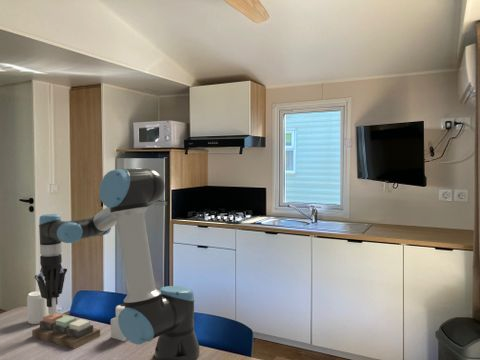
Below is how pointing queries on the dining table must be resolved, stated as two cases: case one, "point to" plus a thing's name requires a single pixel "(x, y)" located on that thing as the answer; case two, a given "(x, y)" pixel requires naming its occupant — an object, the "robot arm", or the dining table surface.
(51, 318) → the terracotta button
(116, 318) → the medicine bottle
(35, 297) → the white canister
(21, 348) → the dining table surface
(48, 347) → the dining table surface
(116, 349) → the dining table surface
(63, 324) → the sage button
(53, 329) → the button panel
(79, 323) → the cream button
